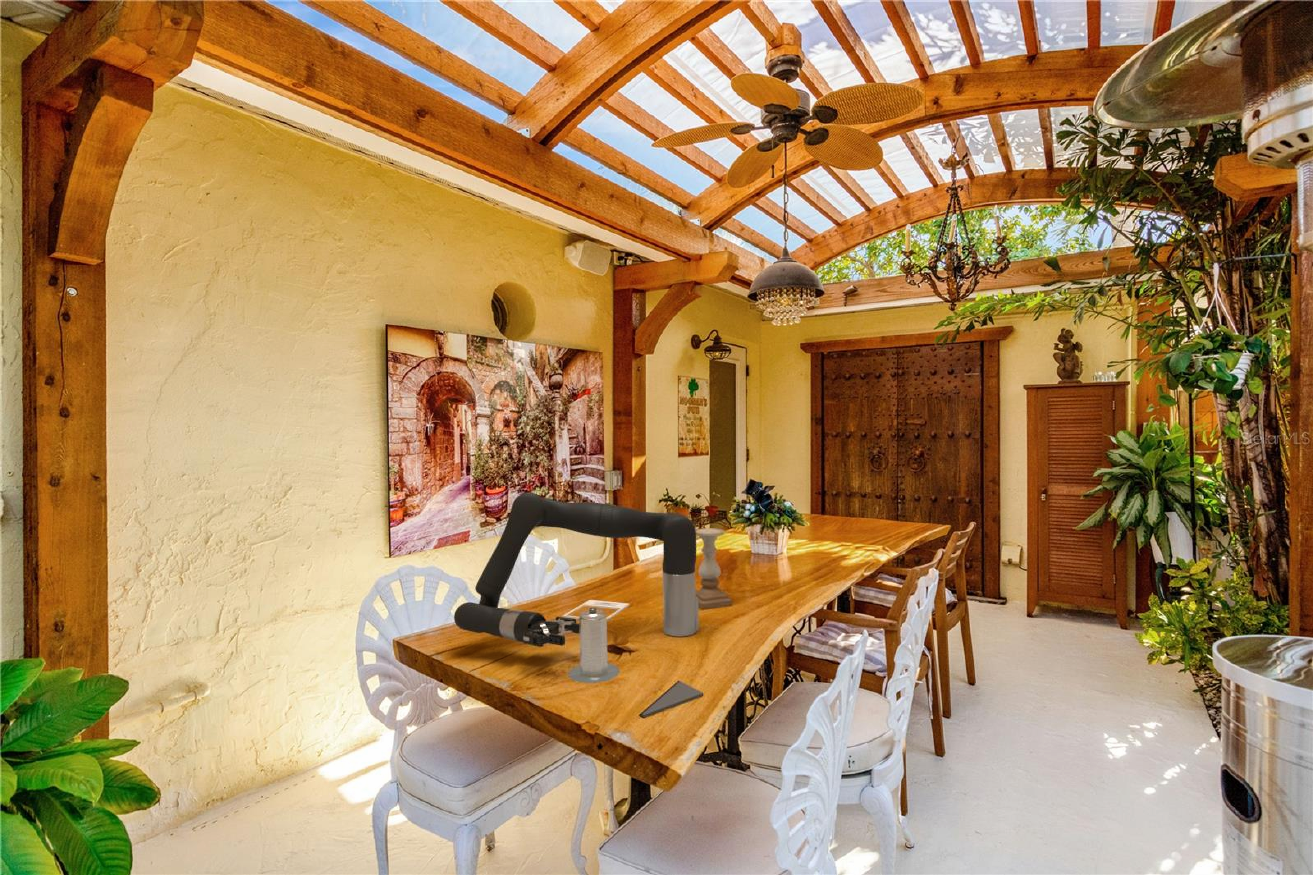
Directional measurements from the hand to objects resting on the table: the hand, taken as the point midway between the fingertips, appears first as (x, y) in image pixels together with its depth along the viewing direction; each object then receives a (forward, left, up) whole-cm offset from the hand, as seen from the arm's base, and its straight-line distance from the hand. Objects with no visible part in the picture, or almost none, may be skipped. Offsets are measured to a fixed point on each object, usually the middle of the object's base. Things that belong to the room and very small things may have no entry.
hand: (575, 635), depth 146 cm
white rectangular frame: (-29, -38, -10) cm, 49 cm away
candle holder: (-62, -21, -9) cm, 66 cm away
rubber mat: (-7, +21, -9) cm, 24 cm away
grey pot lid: (-2, +5, -9) cm, 10 cm away
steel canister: (-2, +5, -8) cm, 10 cm away
